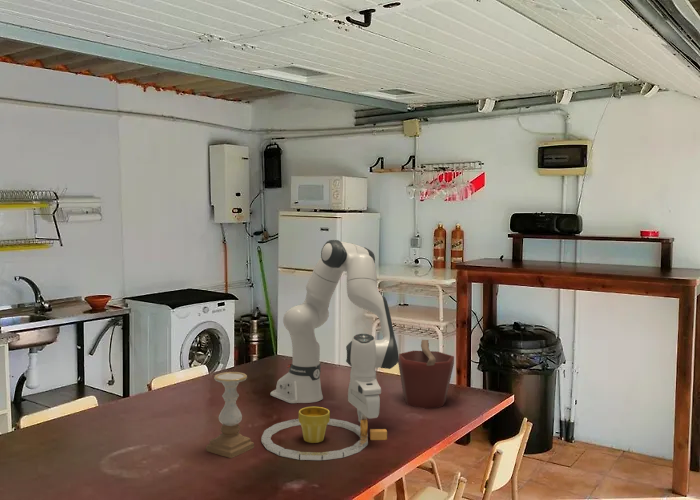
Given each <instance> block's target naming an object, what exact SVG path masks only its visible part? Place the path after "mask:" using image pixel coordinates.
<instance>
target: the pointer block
mask: <svg viewBox="0 0 700 500" xmlns="http://www.w3.org/2000/svg"><path fill="white" fill-rule="evenodd" d="M369 439H370V441H387V440H388V431H387V429H386V428H370V429H369Z"/></svg>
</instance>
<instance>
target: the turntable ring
mask: <svg viewBox="0 0 700 500" xmlns="http://www.w3.org/2000/svg"><path fill="white" fill-rule="evenodd" d="M368 420H369V419H368V418H367V419H361V423H360V424H359V425H358V424H356V423H353V422H351V421H350V422H349V421H347V420H341V419H336V418H330V420H329V422H328V423H327V426H332V427H333V426H334V427H338V428H339V427H340V428H343V429H346V430H348V431H351V432H353V433H355V434H356V435H357V436H358V437H359V440H358V441H356V442H355V443H354V444H353V445H351V446H347V447H345V448H342V449H337V450H330V451H323V452H317V451H316V452H315V451H314V452H313V451H299V450H294V449H290V448H285V447H283V446H281V445H278V444H276V443H274V442H273V440H272V439H271V438H272V436H273V435H275V434H276V433H278V432H280V431H282V430H284V429H285V430H286V429H288V428H291V427H296V426H297V427H298V426H301V423H300V422H299V418H294V419H289V420H285V421H281V422H277V423H275V424H273V425H271V426H269V427H268V428H266V429H264V431H263V433H262V435H261V444H262V445H263V446H264V448H265V450H267V451H269V452H271V453H273V454H275V455H277V456H278V457H284V458H287V459H288V458H289V459H293V460H297V461H298V460H300V461H305V460H306V461H327V460H328V461H329V460H336V459H342V458H347V457H349V456H352V455H355V454H357V453H360V452H361V451H363V450H364V449H365V448H366V447H367V446H368V445H369V435H368V434H369V433H368V429H369V428H368V426H369V425H368V423H369V421H368Z"/></svg>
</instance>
